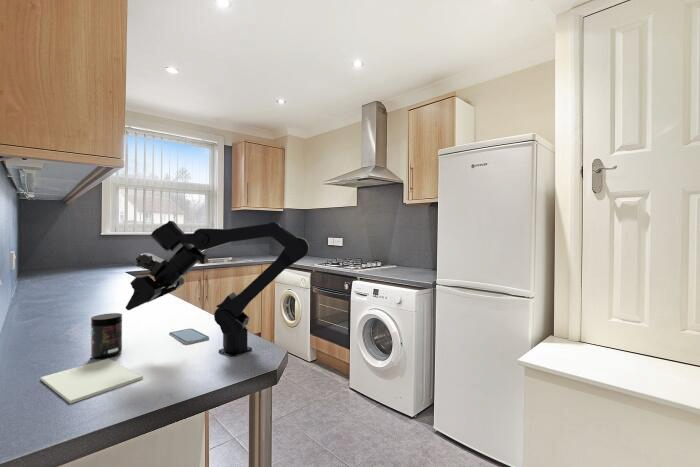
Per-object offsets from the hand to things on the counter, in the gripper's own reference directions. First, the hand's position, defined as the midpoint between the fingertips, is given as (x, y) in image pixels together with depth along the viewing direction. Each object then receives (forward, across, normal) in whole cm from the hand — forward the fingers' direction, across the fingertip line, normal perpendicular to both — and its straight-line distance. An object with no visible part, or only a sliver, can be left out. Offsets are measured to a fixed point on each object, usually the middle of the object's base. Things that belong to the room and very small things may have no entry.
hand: (137, 305), depth 89 cm
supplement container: (+15, 0, +4) cm, 15 cm away
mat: (+11, +15, +8) cm, 20 cm away
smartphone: (+4, -14, +15) cm, 21 cm away
